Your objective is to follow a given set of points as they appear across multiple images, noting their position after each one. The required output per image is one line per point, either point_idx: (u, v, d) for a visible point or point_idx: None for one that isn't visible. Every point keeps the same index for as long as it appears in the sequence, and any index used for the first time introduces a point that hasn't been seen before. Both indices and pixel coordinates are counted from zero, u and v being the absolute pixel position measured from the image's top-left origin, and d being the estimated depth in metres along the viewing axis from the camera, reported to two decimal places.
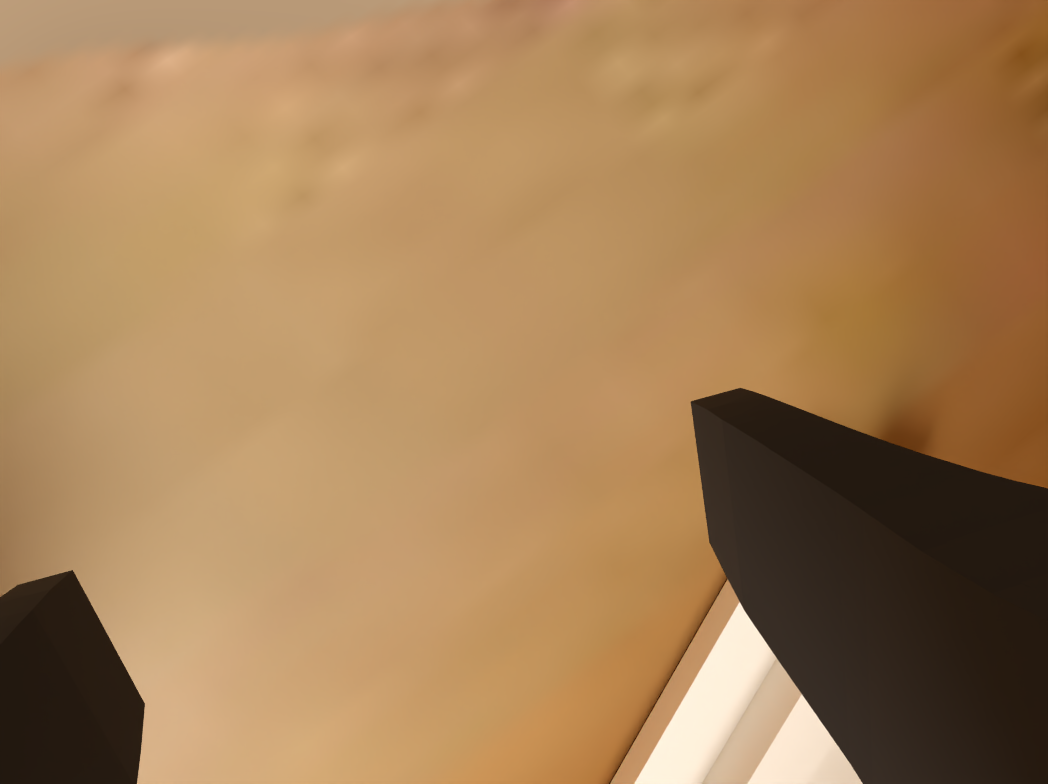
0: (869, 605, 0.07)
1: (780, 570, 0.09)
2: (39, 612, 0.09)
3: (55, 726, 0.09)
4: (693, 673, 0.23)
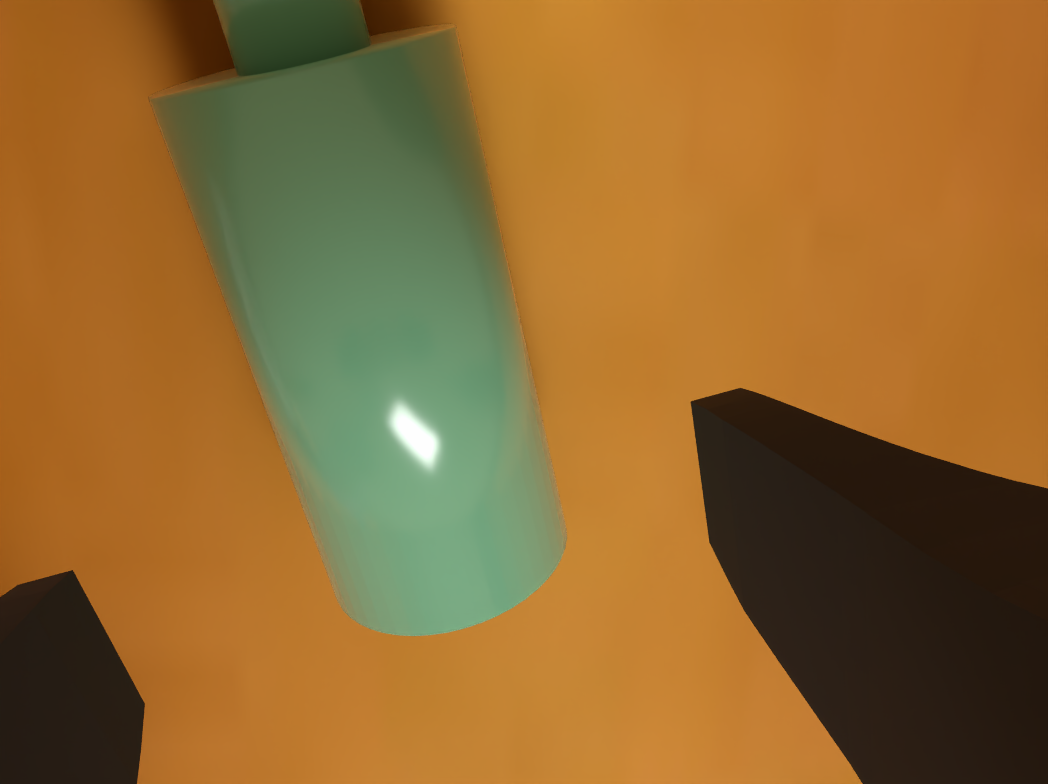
0: (869, 605, 0.07)
1: (780, 569, 0.09)
2: (39, 612, 0.09)
3: (55, 726, 0.09)
4: None
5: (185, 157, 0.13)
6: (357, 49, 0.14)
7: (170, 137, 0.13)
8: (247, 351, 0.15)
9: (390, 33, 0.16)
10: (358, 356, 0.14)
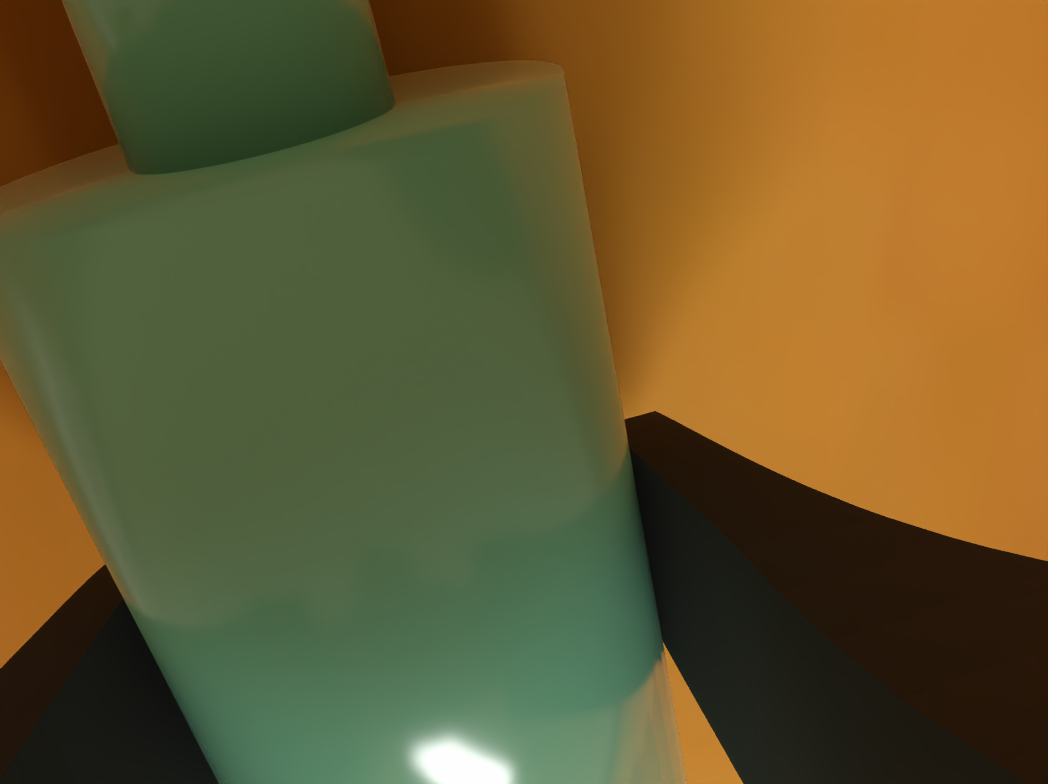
0: (749, 641, 0.07)
1: (682, 599, 0.09)
2: None
3: (160, 696, 0.09)
4: None
5: (4, 356, 0.06)
6: (369, 119, 0.07)
7: None
8: (162, 673, 0.08)
9: (425, 74, 0.09)
10: (372, 734, 0.07)
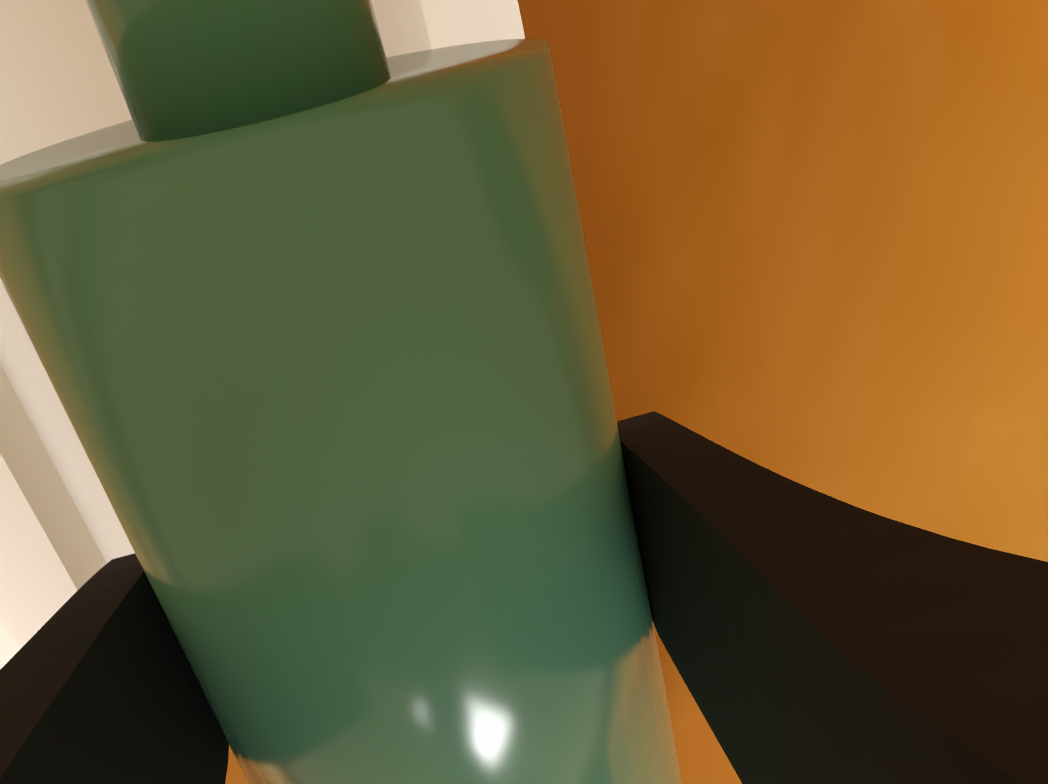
0: (747, 641, 0.07)
1: (681, 598, 0.09)
2: (142, 583, 0.09)
3: (161, 696, 0.09)
4: None
5: (11, 301, 0.07)
6: (350, 95, 0.07)
7: None
8: None
9: (443, 51, 0.09)
10: (322, 676, 0.07)
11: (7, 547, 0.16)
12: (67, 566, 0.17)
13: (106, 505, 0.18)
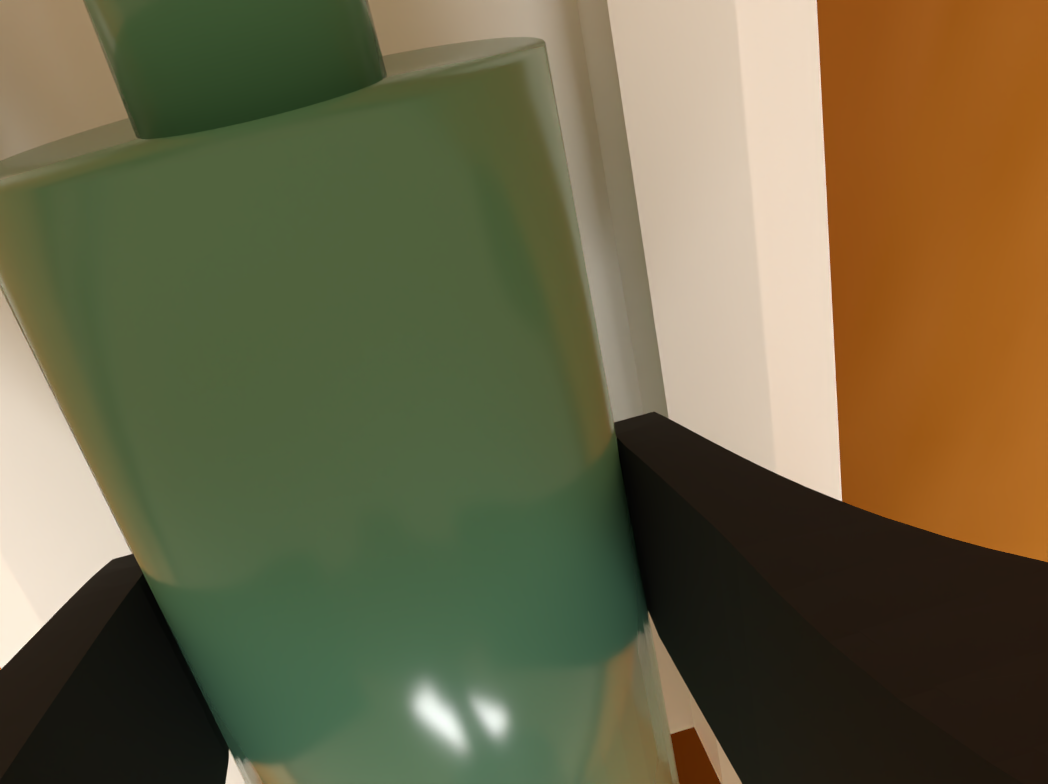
0: (747, 641, 0.07)
1: (681, 599, 0.09)
2: (143, 584, 0.09)
3: (161, 696, 0.09)
4: None
5: (8, 297, 0.07)
6: (345, 93, 0.07)
7: None
8: None
9: (442, 49, 0.09)
10: (314, 674, 0.07)
11: None
12: None
13: None
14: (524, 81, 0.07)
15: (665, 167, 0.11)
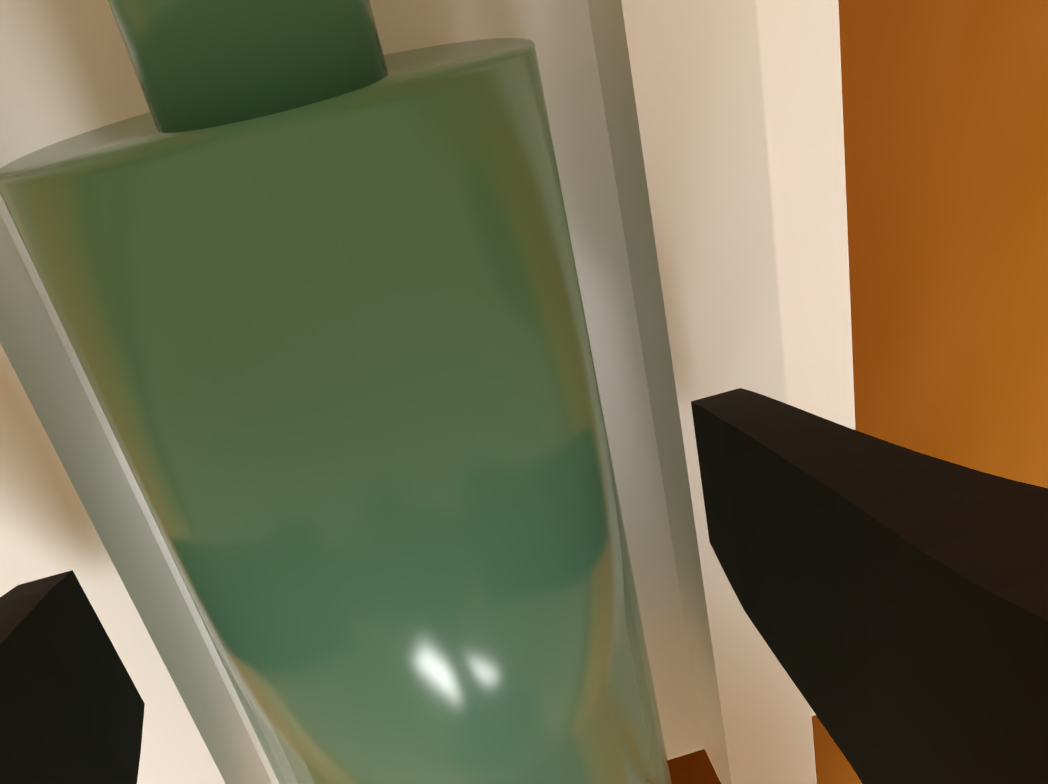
0: (869, 606, 0.07)
1: (780, 569, 0.09)
2: (39, 612, 0.09)
3: (55, 726, 0.09)
4: None
5: (41, 278, 0.08)
6: (351, 90, 0.08)
7: (23, 240, 0.08)
8: None
9: (438, 49, 0.10)
10: (326, 623, 0.08)
11: None
12: (200, 725, 0.13)
13: None
14: (515, 79, 0.07)
15: (681, 174, 0.10)
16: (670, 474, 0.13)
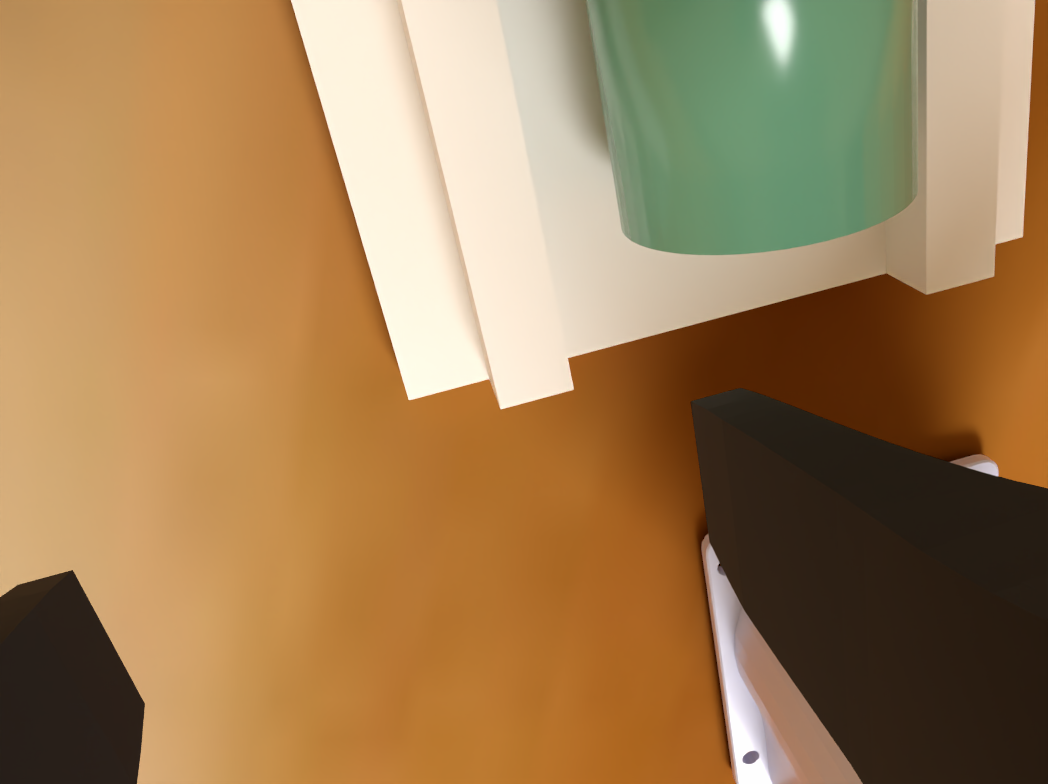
0: (869, 605, 0.07)
1: (780, 569, 0.09)
2: (39, 612, 0.09)
3: (55, 726, 0.09)
4: None
5: None
6: None
7: None
8: None
9: None
10: None
11: (470, 92, 0.15)
12: (521, 128, 0.15)
13: (531, 93, 0.17)
14: None
15: None
16: None
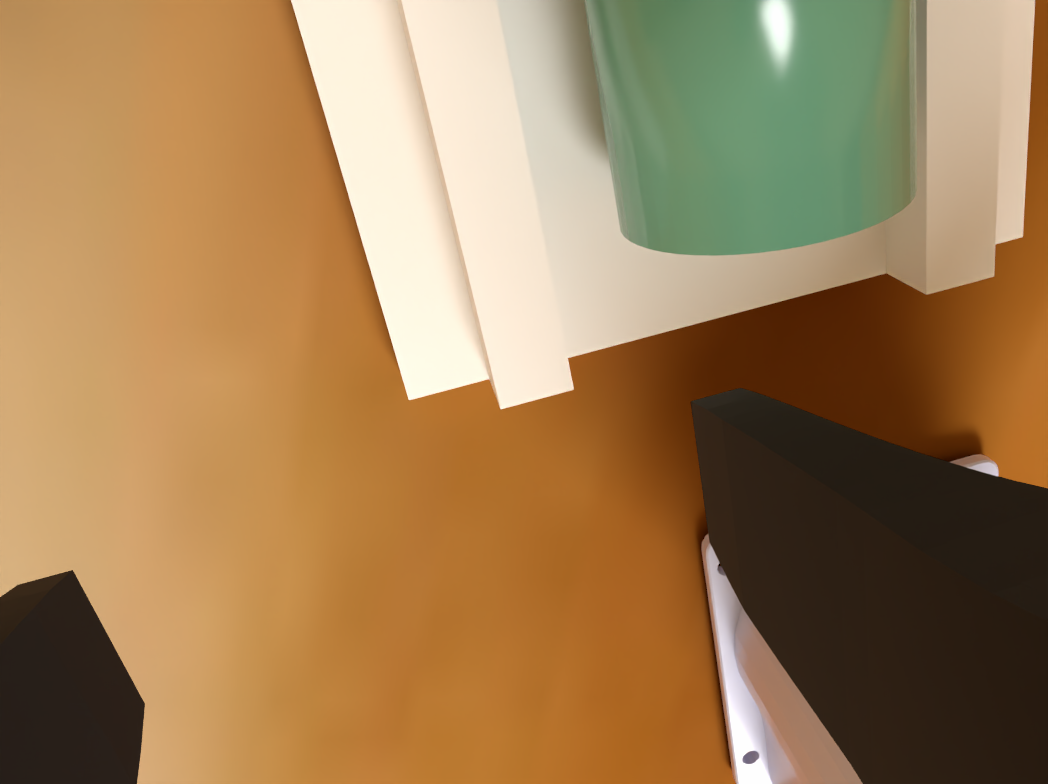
0: (869, 605, 0.07)
1: (780, 569, 0.09)
2: (39, 612, 0.09)
3: (55, 726, 0.09)
4: None
5: None
6: None
7: None
8: None
9: None
10: None
11: (470, 92, 0.15)
12: (521, 128, 0.15)
13: (532, 93, 0.17)
14: None
15: None
16: None
